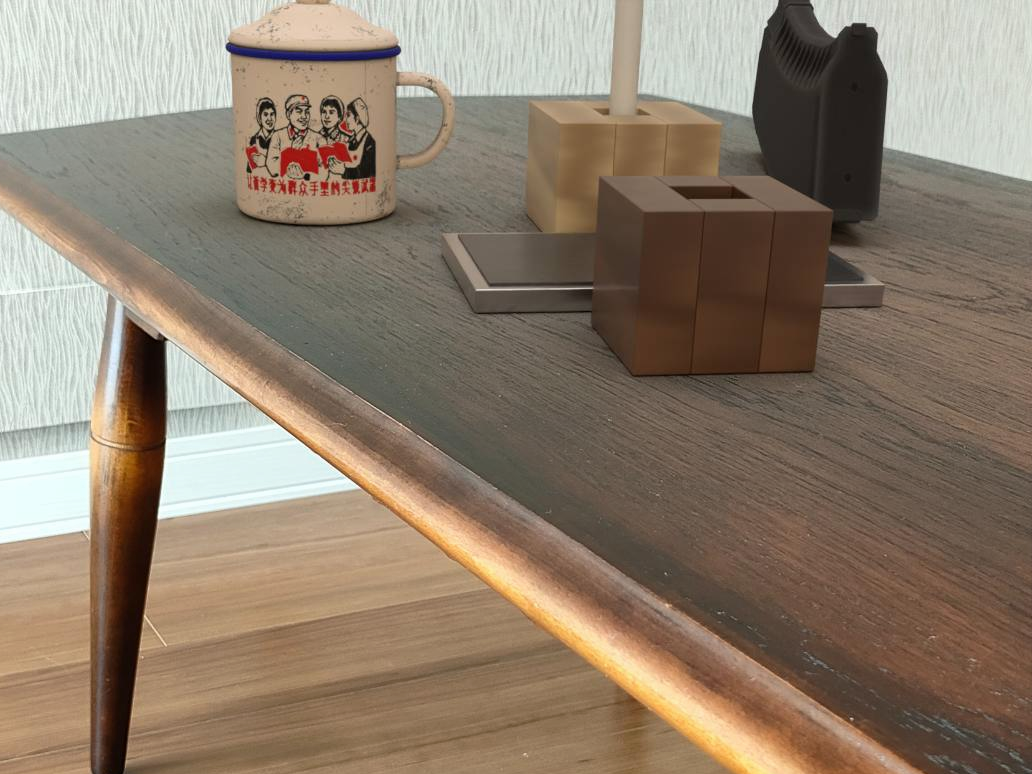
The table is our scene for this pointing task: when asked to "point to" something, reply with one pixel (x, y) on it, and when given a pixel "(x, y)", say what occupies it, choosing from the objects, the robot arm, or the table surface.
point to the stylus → (626, 57)
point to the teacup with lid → (321, 115)
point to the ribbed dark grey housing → (822, 110)
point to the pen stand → (608, 154)
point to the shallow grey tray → (580, 273)
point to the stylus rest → (709, 274)
